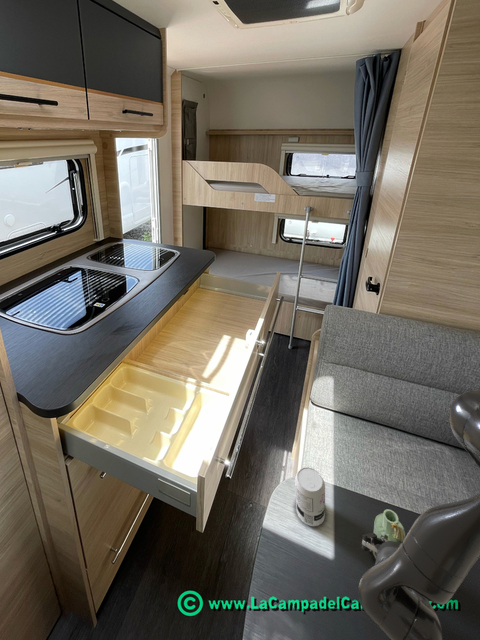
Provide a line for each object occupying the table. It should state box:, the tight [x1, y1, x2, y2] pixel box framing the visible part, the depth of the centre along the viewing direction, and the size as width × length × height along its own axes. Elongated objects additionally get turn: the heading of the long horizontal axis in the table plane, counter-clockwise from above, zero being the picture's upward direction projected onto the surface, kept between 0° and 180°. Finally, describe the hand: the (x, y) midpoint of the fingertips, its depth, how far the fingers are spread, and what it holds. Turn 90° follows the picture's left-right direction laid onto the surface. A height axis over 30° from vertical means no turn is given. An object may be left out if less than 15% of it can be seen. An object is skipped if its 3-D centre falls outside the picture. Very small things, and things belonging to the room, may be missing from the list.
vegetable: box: [388, 523, 406, 544], centre depth 73 cm, size 4×4×20 cm
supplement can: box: [294, 466, 326, 527], centre depth 96 cm, size 8×8×15 cm
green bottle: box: [372, 508, 406, 560], centre depth 84 cm, size 7×7×16 cm
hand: (398, 546), depth 74 cm, fingers closed on vegetable, 4 cm apart
